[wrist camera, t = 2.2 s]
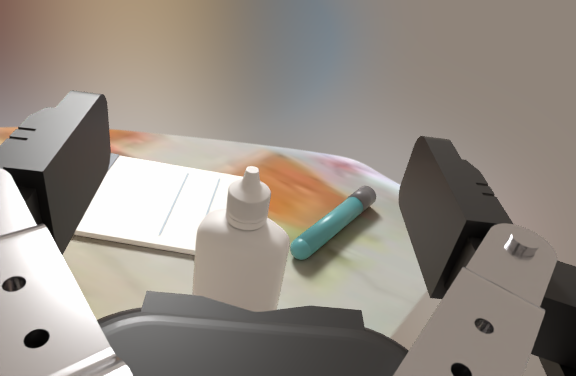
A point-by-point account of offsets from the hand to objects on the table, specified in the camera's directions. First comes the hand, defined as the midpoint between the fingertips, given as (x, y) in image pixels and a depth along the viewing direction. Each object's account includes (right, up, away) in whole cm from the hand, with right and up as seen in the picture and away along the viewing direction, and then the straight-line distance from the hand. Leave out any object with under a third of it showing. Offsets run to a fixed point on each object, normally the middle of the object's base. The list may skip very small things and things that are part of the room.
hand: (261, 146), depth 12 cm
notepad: (-11, -2, +29) cm, 31 cm away
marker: (+5, -5, +30) cm, 30 cm away
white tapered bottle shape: (-3, -10, +20) cm, 23 cm away
